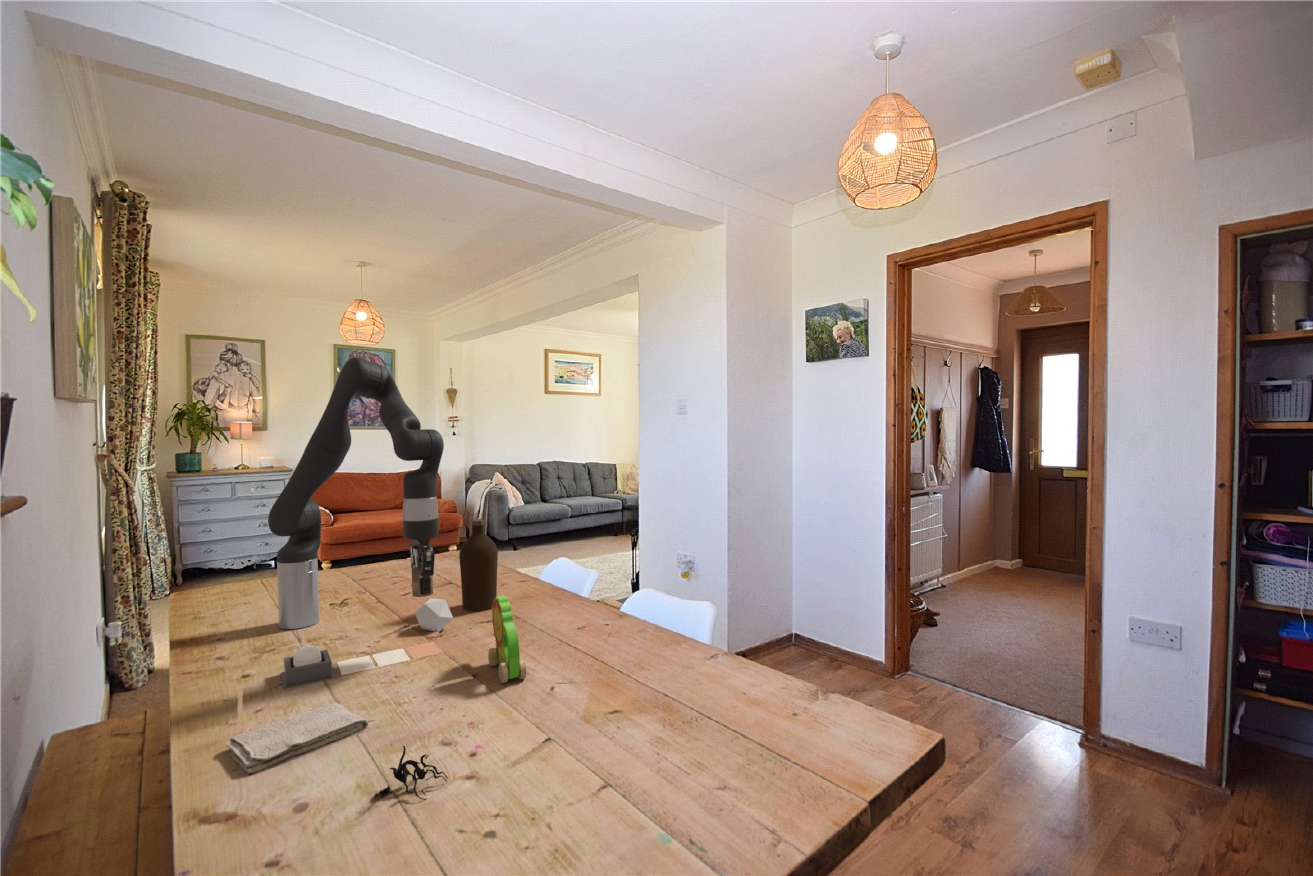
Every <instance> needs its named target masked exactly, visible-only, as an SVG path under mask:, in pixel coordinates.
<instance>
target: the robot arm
mask: <svg viewBox="0 0 1313 876" xmlns="http://www.w3.org/2000/svg"><path fill="white" fill-rule="evenodd" d="M391 373H392V372H390V370H389V369H388V368H387V367H385V366H384V365H381V364H379V363H376V362H373V361H370V360H366V359H363V358H360V357H357V356H356V357H355V356H354V357H353V356H352V357H351V358H349V359H348V360H346V362H345V364H344V365H343V366H342V368H341V369H340V372H339V375H338V377H337V380H336V382H335V384H334V386H333V387H334V388H333V390H332V392H331V395H330V397H329V400H328V403H327V405H326V408H325V409H324V412H323V413H322V415H321V418H320V419H319V422H318V424H317V425H316V428H314V430H313V433H312V434H311V436H310V438H309V440H308V442H307V444H306V447H305V448H304V450H303V453H302V455H301V457H300V460H299V461H298V463H297V464H296V467H295V469H294V470H293V472H292V474H291V476H290V478H289V480H288V481H287V484H285V487H284V488H283V489H282V491H281V492H280V494H279V495H278V497H277V499H276V500H275V501H274V503H273V505H272V507H271V509H270V510H269V514H268V517H267V525H268V527H269V530H270V532H271V533H272V534H273V535H275V536H278V537H289V538H288V540H287V542H286V543H285V544H284V545H283V546H282V547H281V548H279V550H278V551H277V552H276V565H277V566H276V567H277V600H278V602H277V604H278V628H279V629H282V630H295V629H296V630H297V629H301V628H307V627H310V626H313V625H315V624H317V623H319V622H320V604H319V603H320V602H319V601H320V600H319V599H320V598H319V567H318V565H319V564H318V560H319V559H318V554H319V553H318V551H319V549H320V547H321V539H322V538H321V537H322V536H321V534H322V514H321V510H320V507H319V505H318V503H317V502H316V501H315V500H313V499H312V496H313V495H314V494H315V493H316V492H317V490H318V489H319V488H320V487H321V486H322V485H324V484H325V482H327V481H328V480H329V479H330V478H331V477H332V476H333V475H334V474H335V473H336V472H337V471H338V469H340V466H342V464H343V462H344V461H345V458H346V456H347V454H348V453H349V450H350V448H351V445H352V435H351V429H350V424H349V419H348V410H349V407H350V403H351V401H352V400H353V397H354V396H358V397H363V398H365V399H371V400H375V401H376V402H378V403H380V406H379V410H378V416H379V419H380V422H381V423H382V425H383V426H384V427H385V429H386V430H387V432H389V434H390V437H391V441H392V445H393V446H392V447H393V452H394V455H396V456H395V457H397V458H398V459H401V460H402V461H405V462H414V461H422V462H421V465H420V467H419V468H417V469H415V470H411V471H408V472H406V473H405V474H404V475H403V480H402V481H403V486H402V487H403V503H402V528H403V529H402V530H403V531H402V532H403V534H402V536H403V539H405V540H407V541H412V543H409V545H408V546H409V554H410V564H411V565H410V568H411V569H412V568H414V567H416V568H418V569H419V580H420V594H421V595H425V594H430V592H431V581H430V577H431V576H434V574H435V572H434V571H435V556H436V553H435V550H434V549H433V546H432V545H431V539H434V538H437V537H438V536H439V534H440V533H439V532H440V531H439V526H440V523H439V504H438V495H437V494H438V493H437V491H438V490H437V479H438V473H439V468H440V464H441V461H442V457H443V453H444V448H445V447H444V446H445V444H444V438H443V436H442V433H440V432H439V431H438V430H436V429H431V428H430V429H429V428H428V429H427V428H426V429H421V427H422V425H421V422H420V419H419V418H418V417H417V415H416V414H415V412H413V410H412V409H411V408H410V407H409V406H408V404H407V403H406V402H405V400H404V399H403V396H402V394H401V392H400V389H399V388H398V385H397V383H396V382H395V379H394V377H393V375H392V374H391ZM426 567H427V568H428V571H425V568H426Z"/></svg>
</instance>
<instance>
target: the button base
mask: <svg viewBox="0 0 1313 876" xmlns="http://www.w3.org/2000/svg"><path fill="white" fill-rule="evenodd" d="M320 652H321V662H318V663H313V664H309V665H304V666H299V667H294V668H293V658H294V655H292V656H288V657H284V658H283V671H281V673H280V675H281V681H282V688H283V689H288V688H292V687H297V686H302V685H306V684H311V683H315V682H320V681H323V680H329V679H334V678H336V675H335V672H334V670H333V667H332V665H333V664H332V659H331V655H330V653H329V651H328V649H324V650H320Z"/></svg>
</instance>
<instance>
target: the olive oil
mask: <svg viewBox="0 0 1313 876" xmlns="http://www.w3.org/2000/svg"><path fill="white" fill-rule="evenodd" d="M471 521H472V525H471V531H472V532H471V533H470V536H468V538H467V539H466V540H465V541H464V542H463V544H462V545H461V547H460V550H459V553H458V554H459V555H458V557H459V566H460V567H459V569H460V578H461V579H460V580H461V581H460V583H461V598H462V599H461V600H462V609H463V610H465V611H468V612H481V611H488V610H490V609H491V610H492V606H493V600H494V599H495V597H498V595H497V591H498V589H497V588H498V556H499V554H498V553H499V552H498V548H497V544H496V543H495V542H494V541H493V540H492V539H491V538H490V536H488V535H487V534H486V532H485V524H484V522H485V520H484V519H482V518H479V519H477V518H476V519H472V520H471Z"/></svg>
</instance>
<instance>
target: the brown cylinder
mask: <svg viewBox="0 0 1313 876" xmlns="http://www.w3.org/2000/svg"><path fill="white" fill-rule="evenodd" d="M425 571H428V568H427V567H426V568H425ZM433 576H434V575H433ZM433 576H431V577H430V581H431V592H430V594H425V595H421V594H420V580H419V569H418V568H416V567H414V568H411V590H412V591H411V593H412V594H411V595H412V597H414V598H424V597H428V596H431V595H433V594H434V584H433V583H434V581H433V579H434V577H433Z"/></svg>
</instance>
